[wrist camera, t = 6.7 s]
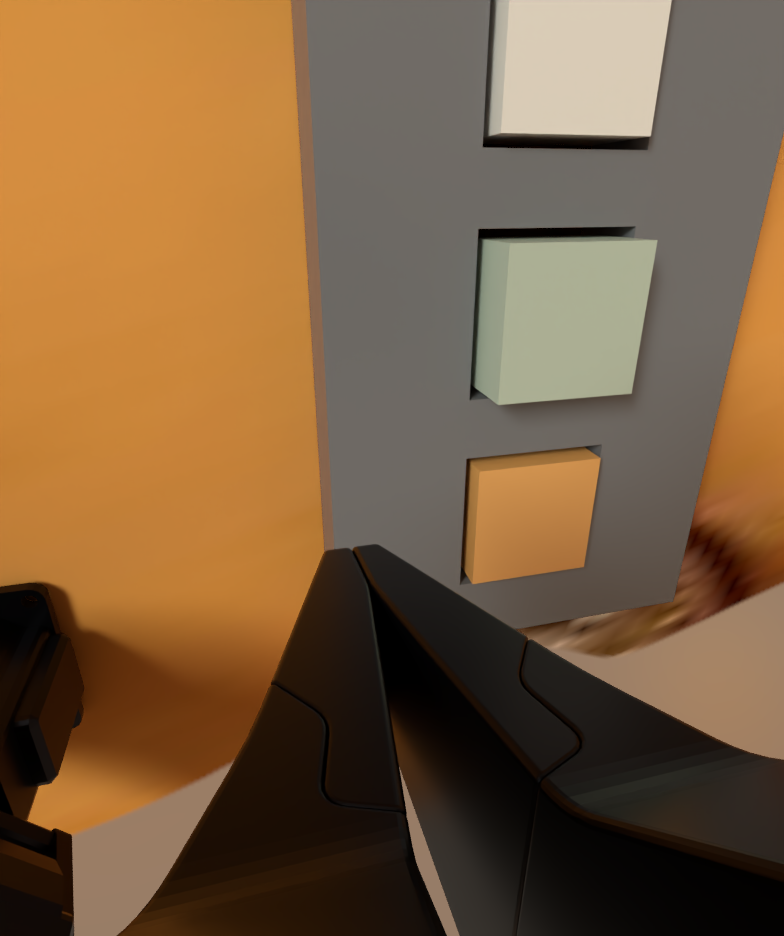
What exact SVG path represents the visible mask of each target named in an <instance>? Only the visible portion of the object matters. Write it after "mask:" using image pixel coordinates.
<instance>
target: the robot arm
mask: <svg viewBox="0 0 784 936" xmlns="http://www.w3.org/2000/svg"><path fill="white" fill-rule="evenodd" d="M25 596H33V597H35V598H36V599H37V601H30V600H28V599H27V598H26V597H25ZM83 691H84V685H83V681H82V678H81V675H80V671H79V668H78V664H77V661H76V657H75V654H74V650H73V647H72V644H71V640H70V638H69V637H68V636H66V635H65V634H64V633H61V632H60V629H59V625H58V622H57V619H56V615H55V612H54V608H53V605H52V602H51V598H50V595H49V592H48V590H47V589H46V588H45V587H44V586H42V585H40V584H37V583H26V584H19V585H11V586H4V587H0V936H74V911H73V909H74V908H73V870H72V869H73V867H72V866H73V865H72V835H71V834H68V833H66V832H63V831H61V830H59V829H56V828H55V829H53V830H52V831H50V830H48V829H46V828H43V827H41V826H38V825H36V824H33V823H31V822H28V821H27V820H28V817H29V814H30V811H31V808H32V805H33V802H34V799H35V796H36V793H37V790H38V787H39V786H40V785H45V784H50V783H52V782H53V780H54V779H55V778H56V777H57V775H58V773H59V770H60V767H61V763H62V760H63V757H64V754H65V750H66V747H67V744H68V740H69V737H70V734H71V731H72V728H75V727H76V726H78V725H79V724H80V722H81V720H82V716H83V706H82V703H81V698H82V694H83ZM399 767H400V770H401V772H402V775H403V778H404V780H405V783H406V786H407V789H408V792H409V795H410V797H411V800H412V803H413V806H414V809H415V811H416V814H417V817H418V820H419V823H420V826H421V828H422V831H423V834H424V837H425V839H426V842H427V845H428V848H429V851H430V854H431V856H432V859H433V862H434V865H435V867H436V870H437V873H438V876H439V879H440V882H441V885H442V887H443V890H444V893H445V896H446V898H447V901H448V904H449V907H450V910H451V912H452V915H453V918H454V921H455V923H456V927H457V929H458V932H459V935H460V936H784V760H781V759H775V758H769V757H765V756H761V755H757V754H754V753H750V752H747V751H744V750H742V749H739V748H736V747H733V746H731V745H729V744H727V743H725V742H722V741H720V740H718V739H716V738H714V737H712V736H710V735H708V734H706V733H704V732H702V731H700V730H698V729H696V728H694V727H692V726H690V725H688V724H686V723H684V722H682V721H680V720H679V719H677V718H674V717H673V716H671V715H669V714H667V713H665V712H663V711H661V710H659V709H657V708H655V707H653V706H651V705H649V704H647V703H645V702H643V701H641V700H639V699H637V698H635V697H633V696H631V695H629V694H627V693H625V692H623V691H621V690H619V689H618V688H615V687H614V686H612V685H610V684H608V683H606V682H604V681H602V680H601V679H599V678H597V677H595V676H593V675H591V674H589V673H587V672H586V671H584V670H582V669H580V668H578V667H577V666H575V665H573V664H572V663H570V662H568V661H567V660H565V659H563V658H561V657H560V656H558V655H556V654H555V653H553V652H551V651H550V650H548V649H547V648H545V647H543V646H542V645H540V644H538V643H537V642H535V641H534V640H532V639H530V640H528V638H527V636H525V635H524V634H522V633H520V632H519V631H517V630H516V629H514V628H512V627H511V626H509V625H508V624H506V623H504V622H503V621H501V620H500V619H498V618H496V617H495V616H493V615H491V614H490V613H488V612H487V611H485V610H483V609H482V608H480V607H479V606H477V605H475V604H474V603H472V602H471V601H469V600H467V599H466V598H464V597H463V596H461V595H459V594H458V593H456V592H454V591H453V590H451V589H450V588H448V587H446V586H445V585H443V584H442V583H440V582H438V581H437V580H435V579H434V578H432V577H430V576H429V575H427V574H426V573H424V572H422V571H421V570H419V569H417V568H416V567H414V566H413V565H411V564H409V563H408V562H406V561H405V560H403V559H401V558H400V557H398V556H397V555H395V554H393V553H392V552H390V551H388V550H387V549H385V548H384V547H382V546H380V545H378V544H370V545H363V546H356V547H354V548H353V549H352V550H351V549H350V548H339V549H332V550H326V551H325V552H324V554H323V556H322V558H321V561H320V563H319V566H318V568H317V571H316V573H315V576H314V578H313V581H312V583H311V586H310V588H309V591H308V593H307V595H306V598H305V600H304V603H303V605H302V608H301V610H300V613H299V615H298V618H297V620H296V623H295V625H294V628H293V630H292V633H291V635H290V638H289V640H288V642H287V645H286V647H285V650H284V652H283V655H282V657H281V660H280V662H279V665H278V667H277V670H276V672H275V675H274V677H273V680H272V682H271V686H270V687H269V689H268V691H267V694H266V696H265V699H264V701H263V703H262V706H261V708H260V710H259V713H258V715H257V717H256V719H255V721H254V724H253V726H252V728H251V730H250V732H249V735H248V737H247V739H246V741H245V742H244V744H243V746H242V748H241V750H240V752H239V753H238V755H237V757H236V759H235V761H234V762H233V764H232V766H231V768H230V770H229V772H228V773H227V775H226V777H225V778H224V781H223V782H222V784H221V785H220V787H219V789H218V790H217V792H216V794H215V795H214V797H213V799H212V800H211V802H210V804H209V806H208V807H207V809H206V811H205V812H204V814H203V816H202V817H201V819H200V821H199V822H198V824H197V826H196V828H195V829H194V831H193V833H192V834H191V836H190V838H189V839H188V841H187V843H186V844H185V846H184V848H183V850H182V851H181V853H180V855H179V857H178V858H177V860H176V862H175V863H174V865H173V867H172V868H171V870H170V871H169V873H168V875H167V876H166V878H165V879H164V881H163V883H162V884H161V886H160V887H159V889H158V890H157V891H156V893H155V894H154V896H153V897H152V898H151V900H150V901H149V902H148V904H147V905H146V906H145V907H144V908H143V910H142V911H141V912H140V913H139V914H138V916H137V917H136V918H135V919H134V920H133V921H132V922H131V923H130V924H129V925H128V926H127V927H126V928H125V929H124V930H123V931H122V932H121V933H119V934H118V935H117V936H447V935H446V933H445V931H444V928H443V926H442V923H441V921H440V918H439V916H438V914H437V911H436V910H435V907H434V905H433V902H432V900H431V897H430V895H429V892H428V890H427V888H426V885H425V883H424V881H423V878H422V876H421V874H420V871H419V869H418V866H417V863H416V860H415V856H414V852H413V847H412V842H411V837H410V832H409V826H408V820H407V817H406V807H405V801H404V795H403V789H402V782H401V776H400V770H399Z"/></svg>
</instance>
